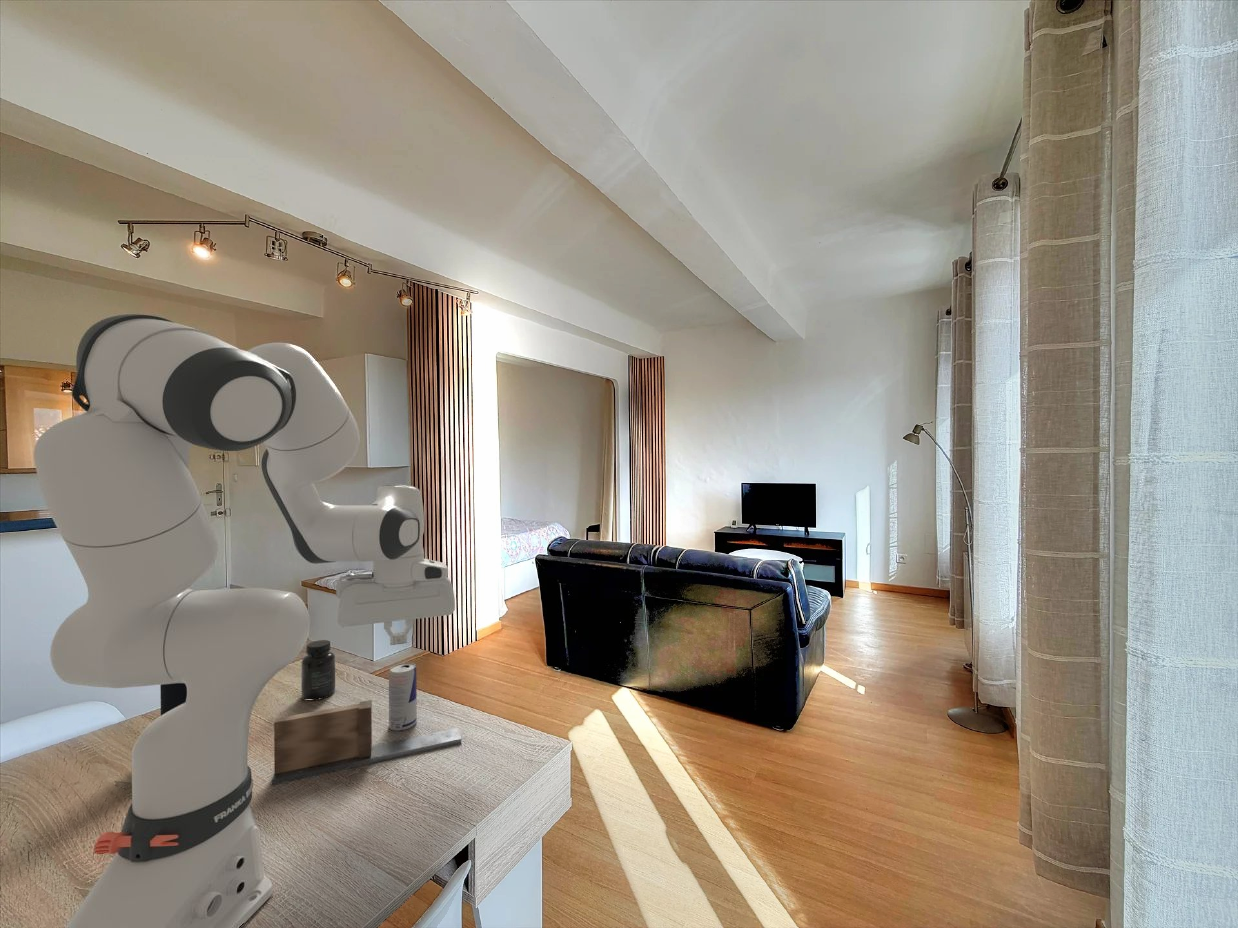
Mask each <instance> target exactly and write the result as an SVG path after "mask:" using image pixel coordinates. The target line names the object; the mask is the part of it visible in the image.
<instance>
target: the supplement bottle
mask: <svg viewBox="0 0 1238 928" xmlns="http://www.w3.org/2000/svg"><path fill="white" fill-rule="evenodd" d="M305 649H306V650H305V651H306V652H305V654H306V655H305V656H304V657H303V658H302V660H301V663H300V666H301V667H300V669H301V673H300V674H301V680H300V681H301V683H300V684H301V689H300V690H301V698H302V699H303V698H304V699H303V700H305V699H319V698H323V699H325V698H324V697H326V696H328V697H329V695H330V696H332V695H333V694H334V693H333V692H335V691H336V655H335V653H334V652H332V651H331V650H332V647H331V641H330V640H326V639H322V640H321V639H319V640H315V641H311V642H308V644H307V643H306V648H305ZM332 693H333V694H332ZM331 694H332V695H331ZM326 698H327V697H326Z"/></svg>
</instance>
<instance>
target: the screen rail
mask: <svg viewBox="0 0 1238 928" xmlns="http://www.w3.org/2000/svg"><path fill="white" fill-rule="evenodd" d="M461 736H462V735H461V732H460V727H454V728H450V729H446V730H440V731H436V732H432V733H426V734H422V735H417V736H416V735H415V736H412V737H411V736H410V737H407V738H402V739H398V740H392V741H386V742H382V743H378V744H374V745H373V744H372V750H371V756H367V757H363V758H359V756H358V757H353V758H349V759H344V760H339V761H335V762H330V763H325V764H321V765H316V766H311V767H306V768H302V769H297V770H292V771H288V772H283V773H278V774H274V773H273V775H272V778H271V786H274V785H278V784H282V783H287V782H292V781H297V780H302V779H305V778H311V777H315V776H319V775H320V776H321V775H324V774H328V773H333V772H337V771H342V770H346V769H351V768H352V769H353V768H355V767H356V768H357V767H360V766H361V767H362V766H365V765H369V764H373V763H379V762H383V761H388V760H392V759H396V758H401V757H405V756H406V757H407V756H410V755H416V754H418V753H423V752H428V751H433V750H437V749H441V748H442V749H443V748H446V747H451V746H455V745H459V744H460V745H461V744H462V737H461Z"/></svg>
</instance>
